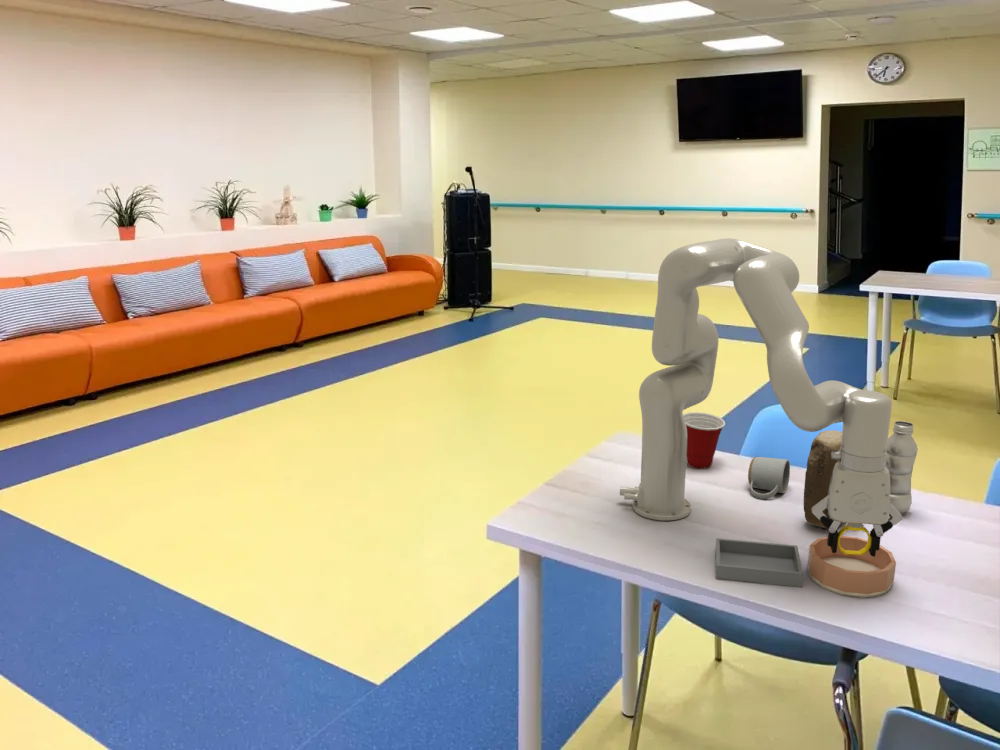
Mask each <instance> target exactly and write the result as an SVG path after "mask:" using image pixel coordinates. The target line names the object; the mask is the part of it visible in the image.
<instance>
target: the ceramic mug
mask: <svg viewBox="0 0 1000 750" xmlns="http://www.w3.org/2000/svg"><path fill="white" fill-rule="evenodd" d="M790 473H791V464H790V460H789V459H786V458H774V457H765V456H757V457H756V456H755V457H753V458H752V459H751V461H750V463H749V466H748V474H747V481H748V484H749V486H750V487H749V488H750V493H751V494H752V496H754V497H755V498H756V499H760V500H767V499H771V498H773V497H774V496H775V495H776V494H777V493H779V494H785V493H786V491H787V490H788V486H789V482H790V478H791V477H790V475H791V474H790ZM754 488H755V489H758V490H759V489H760V490H764V491H769V492H766V493H760V492H757V491H755V489H754Z"/></svg>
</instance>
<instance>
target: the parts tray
mask: <svg viewBox="0 0 1000 750" xmlns="http://www.w3.org/2000/svg"><path fill="white" fill-rule="evenodd" d="M803 571H804V570H803V565H802V560H801V556H800V552H799V546H798V545H795V544H783V543H775V542H774V543H773V542H761V541H752V540H751V541H750V540H738V539H728V538H719V537H718V538H715V579H717V580H726V581H727V580H728V581H737V582H738V581H739V582H748V583H754V584H755V583H756V584H766V585H767V584H768V585H776V586H777V585H778V586H785V587H786V586H787V587H788V586H790V587H797V588H803V581H804V580H803V579H804V572H803Z"/></svg>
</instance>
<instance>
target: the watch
mask: <svg viewBox="0 0 1000 750" xmlns="http://www.w3.org/2000/svg"><path fill="white" fill-rule="evenodd" d="M848 531H853V532H861V531H863V532H864V533H866V535H867V540H868V542H867V544H866V545H865V547H864V548H862V549H861V550H859V551H852V550H844V549H843V548H842V547H841V546H840V538H841V536H844V534H845V533H846V532H848ZM837 532H838V543H837V546H838V548H839V550H840V551H841V552H842V553H844V554H845V555H863V554H865V553H866V552H867V551H868V550H869V549H870V547H871V541H872V537H871V535H870V531H868V528H867V527H865V526H864V524H860V523H848V522H846V525H844V526H842V527H841V528H840V529H839V531H837Z"/></svg>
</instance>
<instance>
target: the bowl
mask: <svg viewBox="0 0 1000 750" xmlns="http://www.w3.org/2000/svg"><path fill="white" fill-rule="evenodd" d="M827 539H828V536H824V537H818V538H817V539H816V540H814V541H813V542H812V543H810V544H809V548H808V559H807V567H808V569H807V571H808V575H809V577H810V579H811V580H812V581H813V582H814V583H815V584H817V585H818V586H819V587H822V588H823V589H825V590H827V591H830V592H832V593H835V594H838V595H842V596H846V597H852V598H853V597H854V598H873V597H874V598H875V597H879V596H882V595H884V594H887V593H888V592H889V591H890V590H891V588H892V585H893V584H894V583H895V573H896V565H897V562H896V559H895V557H894V555H893V552H892V551H890V550H889V549H888V548H887V549H886V548H885V547H884V546H882V545H881V544H880V547H879V551H878V550H876V555H875V557H873V556H871V555H870V552H869V550H868V551H867V552H866V553H865V554H863V555H845V554H844V553H842V552H841V551H840V550H839V548H838V546H837V552H835V553H832V550H831V547H830V546H828V545H827ZM867 542H868V539H865V538H861V537H858V536H847V535H842V536H841V538H840V546H841V547H842V548H843V549H844V550H852V551H859V550H861V549H862V548H864V547H865V545H866V544H867Z"/></svg>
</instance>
